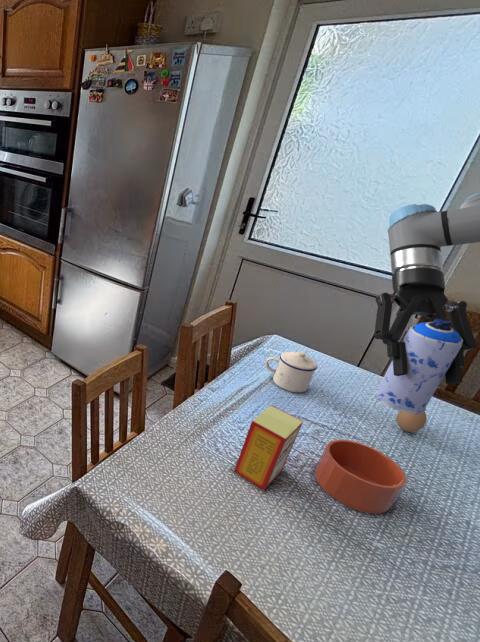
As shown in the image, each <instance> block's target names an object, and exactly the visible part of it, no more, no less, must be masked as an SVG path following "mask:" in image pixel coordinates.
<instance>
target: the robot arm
mask: <svg viewBox="0 0 480 642" xmlns="http://www.w3.org/2000/svg"><path fill="white" fill-rule="evenodd" d="M387 222H388V224H387V227H388V228H387V235H388V245H389V256H390V269H391V274H392V275H391V283H392V285H391V286H392V290H393V293H389V292H382V293H380V294H379V295H377V296H375V302H376V306H377V309H376V316H375V317H376V318H375V325H374V333H373V337H374V339H375V340H381V341H382V343H383V344H384V345H386V352H387V353H386V354H387V357H388V358H389V359H392V360H393V372H394V375H395V376H401V375H405V374H408V371H407V358H406V346H405V342H402V341H401V339H402V336H403V334H404V332H405V330H406V328H407V326H408V324H409V322H410V320H411V317H412V316H415V315H417V316H420V317H425V320H426V322H433V321H434V320H435V318H443V319H447V320H450V321H451V322H452V323H451V325H450V327H451V328H453V329H454V330H455V331H456V332H458V333H459V335H460V337H461V338H462V339H463V343H462V347H461V348H460V350H459V352H458V353H457V355H456V357H455V358H454V360H453V362H452V363H451V365H450V367H449V369H448V370H447V372H446V374H445V375H444V377H445V384H446V385H457V384H462V383H463V377H462V368H464V367H465V366H466V363H465V355H464V352H466V351H470V350H475V349H477V342H476V339H475V336H474V333H473V330H472V327H471V324H470V320H469V317H468V315H467V308H468V303H467V302H466V301H465V300H460V301H454V300H450V299H449V298H448V297H447V295H446V294H445V289H446V281H445V273H444V272H443V270H444V262H443V257H442V250H441V248H442V247H452V246H458V245H468V244H476V243H480V192H478V193H474V194H472V195H470V196H469V197H467V198H466V199H465V200H464V201H463V202H462V203H461V204H460V205H459V206H458V208H455V209H450V210H442V211H441V210H439V211H437V209H436V207H435V206H433V205H432V204H426V203H420V204H417V203H413V204H412V203H411V204H407V205H403V206H400V207H398V208H396V209H394V210H393V211H392V212H391V213H390V214H389V215H388V221H387ZM394 303H395V304H396V305H397V306H398V310H397V311H396V315H395V316H396V317H395V319H394V321H393V323H392V325H391V318H392V310H393V304H394ZM444 307H445V308H446V309H444ZM447 313H448V318H447ZM390 326H391V327H390Z"/></svg>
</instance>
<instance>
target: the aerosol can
mask: <svg viewBox="0 0 480 642" xmlns="http://www.w3.org/2000/svg"><path fill="white" fill-rule="evenodd" d="M447 319H448V318H447ZM447 319H443V318H435V320H434V321H433V322H430V321H425V322H420V323H416V324H413V325H411V326H410V327H409V328H408V330H407V331H406V333H405V335H404V337H403V339H402V341H401V342H405V346H406V358H407V371H408V374H405V375H401V376H395V375H394V372H393V359H392V361H391V363H390V364H389V366H388V368H387V370H386V372H385V374H384V376H383V378H382V380H381V382H380V384H379V386H378V388H376V389H375V391H374V393H373V394H374V397H375V398H376V399H377V400H378V401H379V402H380V403H382V404H383V405H385V406H387V407H389V408H390V409H393V410H396V411H398V412H399V411H401V412H405V413H409V414H422V413H424V412H425V413H426V409H427V406H428V404H429V403H430V401H431V399H432V398H433V396H434V394H435V392H436V390H437V389H438V387H439V386H440V384H441V382H442V380H443V378H444V377H445V374H446V372H447V370H448V369H449V367H450V365H451V363H452V362H453V360H454V358H455V357H456V355H457V353H458V352H459V350H460V348H461V347H462V343H463V339H462V338H461V337H460V335H459V333H458V332H456V331H455V330H454V329H453V328H451V327H450V325H451V323H452V322H451V321H450V319H448V320H447ZM451 326H452V325H451Z"/></svg>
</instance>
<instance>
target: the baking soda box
mask: <svg viewBox="0 0 480 642" xmlns="http://www.w3.org/2000/svg"><path fill="white" fill-rule="evenodd" d="M303 423H304V420H303V419H301V418H299V417H296V416H294V415H293V414H291V413H288V412H286V411H284V410H282V409H281V408H278V407H277V406H274V405H272V404H270V405H269V406H268V407H267V408H265V409H264V410H263V411H262V412H261V413H260V414H259V415H257V416H256V417H255V418H254V419H253V420H252V421H251V423H250V426H249V429H248V431H247V434H246V437H245V439H244V442H243V445H242V447H241V450H240V453H239V456H238V458H237V461H236V464H235V467H234V469H233V472H235V474H237V475H239V476H241V477H242V478H244V479H245V480H246V481H248V482H250V483H251V484H252V485H254V486H256V487H257V488H259V489H260V490H261V491H265V490H267V488H268V487H269V486H270V485H271V483H272V482H273V481H274V480H275V479H276V478H277V477H278V476H279V475H280V474H281V472H283V470H284V467H285V464H287V460H288V458H289V456H290V453H291V451H292V449H293V447H294V444H295V443H296V442H295V441H296V440H297V437H298V436H299V433H300V430H301V428H302V425H303Z"/></svg>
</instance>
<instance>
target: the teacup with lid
mask: <svg viewBox="0 0 480 642" xmlns="http://www.w3.org/2000/svg"><path fill="white" fill-rule="evenodd" d="M270 361H275V362H277V363H278V364H277V365H276V369H275V368H272V367H271V366H270V365H269V362H270ZM264 362H265V367H266V369H267V370H268V371H269V372H271V373H274V374H273V377H272V380H273V383H274V384H276V385H277V386H278V387H279V388H281V389H283V390H285V391H288V392H292V393H298V394H299V393H305V392H306V391H308V388H309V386H310V383H311V381H312V379H313V376H314V374H315V371H316V370H317V369H318V363H317V362H316V361H315V360H314V358H312V357H310V356H308V355H307V354H306V352H304V351H301V350H299V351H285V352H282V353H281V354H280V355H279V358H278V357H274V356H270V357H267V358H266V360H265V361H264Z"/></svg>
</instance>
